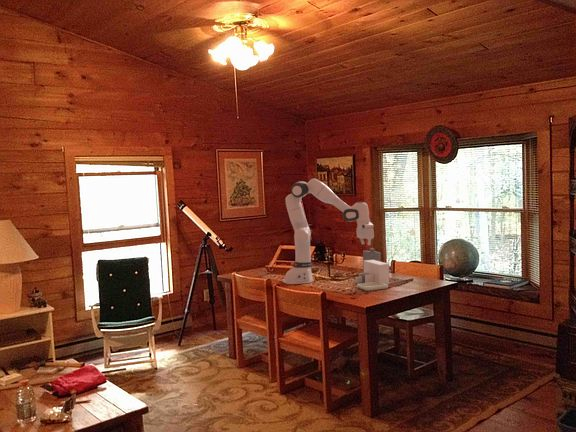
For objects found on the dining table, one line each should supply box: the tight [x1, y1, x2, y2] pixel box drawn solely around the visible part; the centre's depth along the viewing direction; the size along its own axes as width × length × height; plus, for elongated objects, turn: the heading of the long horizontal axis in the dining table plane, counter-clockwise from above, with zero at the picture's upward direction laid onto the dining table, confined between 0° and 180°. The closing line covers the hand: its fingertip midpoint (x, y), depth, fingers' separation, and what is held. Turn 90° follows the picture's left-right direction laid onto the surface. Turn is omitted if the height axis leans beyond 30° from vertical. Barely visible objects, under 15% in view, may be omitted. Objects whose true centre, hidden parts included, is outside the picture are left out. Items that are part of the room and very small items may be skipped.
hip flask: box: [362, 247, 382, 273], centre depth 412 cm, size 16×4×20 cm, turn 43°
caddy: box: [355, 274, 369, 284], centre depth 381 cm, size 11×5×6 cm, turn 114°
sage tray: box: [356, 282, 389, 292], centre depth 365 cm, size 17×12×2 cm
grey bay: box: [358, 260, 390, 285], centre depth 384 cm, size 15×20×14 cm
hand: (366, 244), depth 378 cm, fingers open, 8 cm apart
